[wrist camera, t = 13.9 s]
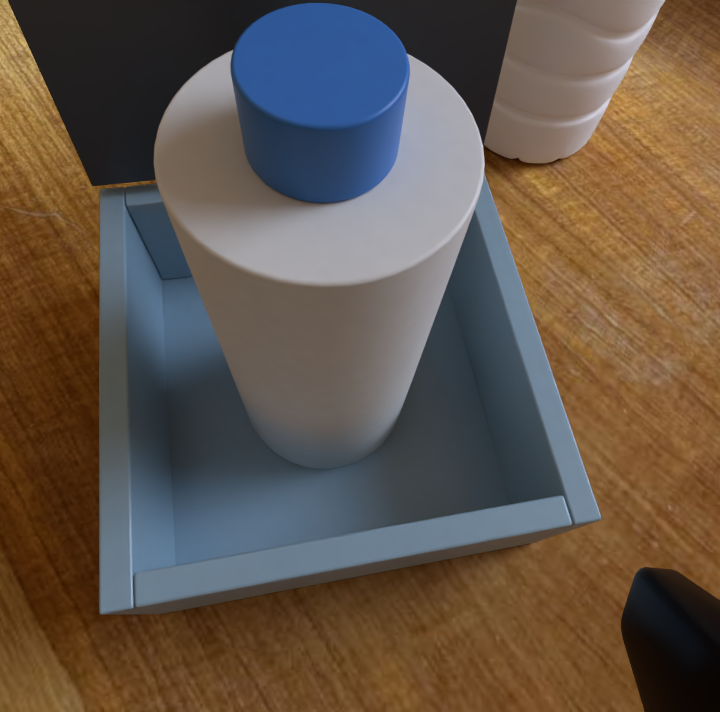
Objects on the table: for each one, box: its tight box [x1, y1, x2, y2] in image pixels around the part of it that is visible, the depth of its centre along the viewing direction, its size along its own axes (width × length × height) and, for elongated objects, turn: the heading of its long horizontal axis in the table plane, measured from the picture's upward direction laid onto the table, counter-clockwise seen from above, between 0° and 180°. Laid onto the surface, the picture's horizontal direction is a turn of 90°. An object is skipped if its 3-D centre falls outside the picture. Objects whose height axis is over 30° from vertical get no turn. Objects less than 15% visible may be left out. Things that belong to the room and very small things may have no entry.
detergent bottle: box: [154, 3, 485, 469], centre depth 14 cm, size 6×6×14 cm
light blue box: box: [99, 174, 601, 615], centre depth 19 cm, size 13×13×5 cm
